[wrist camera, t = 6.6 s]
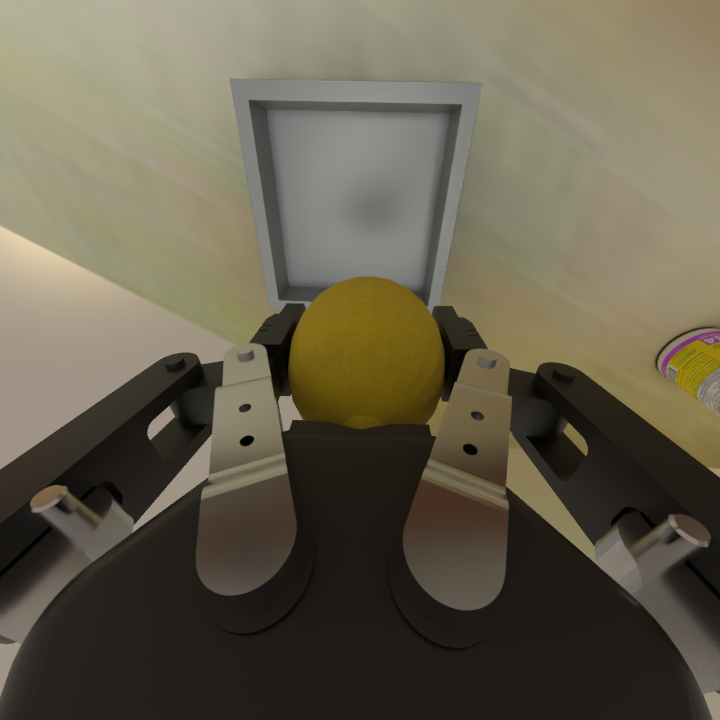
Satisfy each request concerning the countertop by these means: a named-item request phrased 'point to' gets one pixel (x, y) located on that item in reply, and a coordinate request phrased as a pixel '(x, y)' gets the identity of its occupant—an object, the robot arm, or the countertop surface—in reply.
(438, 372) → the lemon
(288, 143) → the box
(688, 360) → the supplement bottle
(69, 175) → the countertop surface
